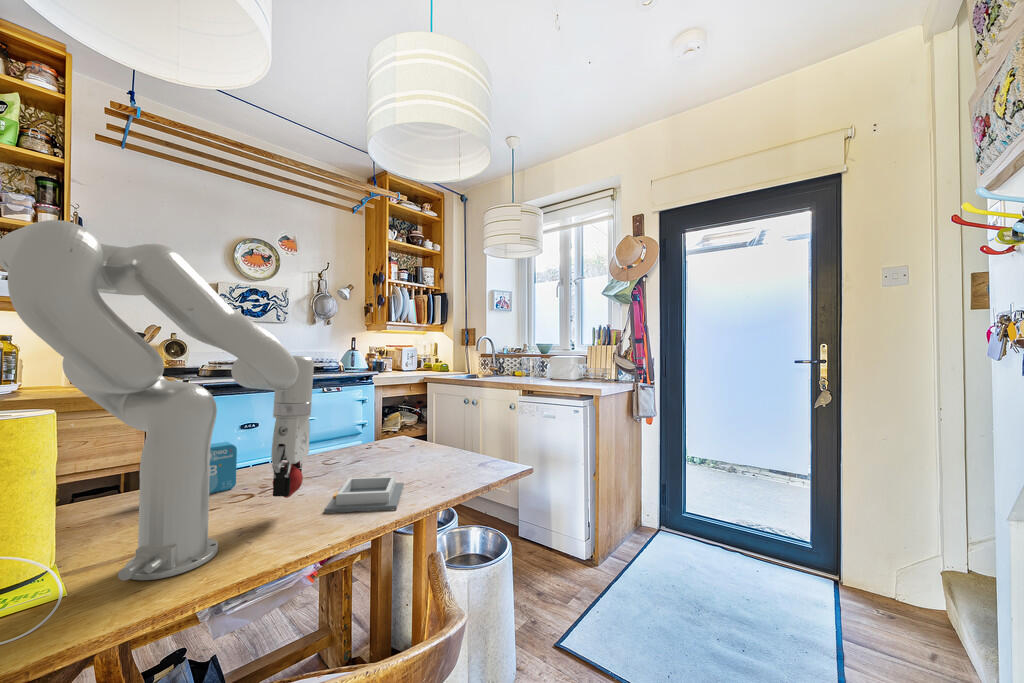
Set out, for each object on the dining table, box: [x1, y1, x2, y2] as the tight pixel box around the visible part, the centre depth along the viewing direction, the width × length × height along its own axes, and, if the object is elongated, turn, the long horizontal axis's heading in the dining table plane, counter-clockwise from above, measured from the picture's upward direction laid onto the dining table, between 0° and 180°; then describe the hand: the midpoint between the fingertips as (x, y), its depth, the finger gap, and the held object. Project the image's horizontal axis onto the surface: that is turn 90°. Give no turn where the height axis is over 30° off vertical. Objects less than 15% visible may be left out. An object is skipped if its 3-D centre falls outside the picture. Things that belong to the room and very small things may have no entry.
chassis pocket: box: [324, 475, 405, 514], centre depth 101 cm, size 16×16×4 cm
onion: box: [272, 463, 304, 498], centre depth 90 cm, size 6×6×8 cm
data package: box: [209, 441, 238, 495], centre depth 104 cm, size 12×4×12 cm, turn 138°
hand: (287, 490), depth 90 cm, fingers closed on onion, 5 cm apart
